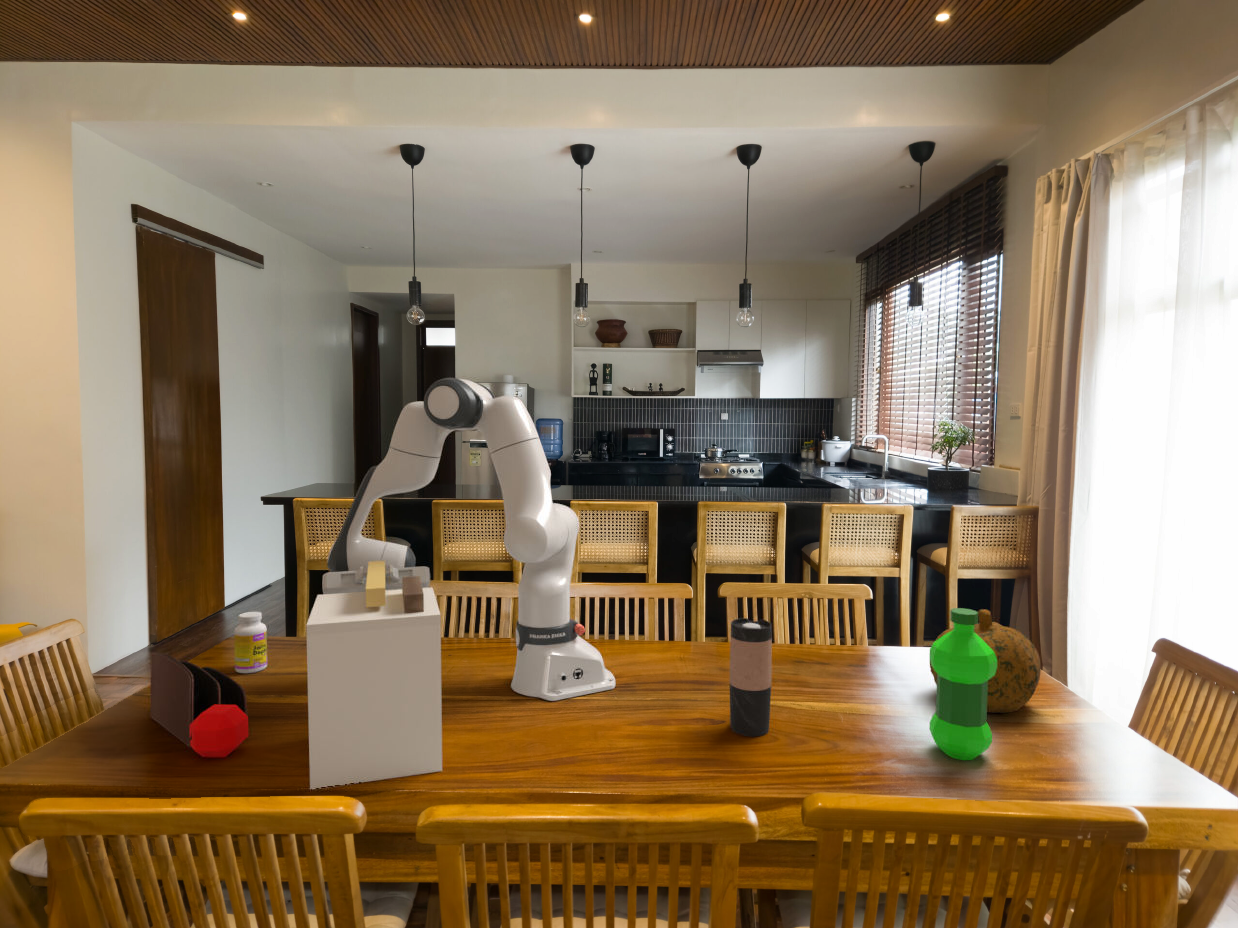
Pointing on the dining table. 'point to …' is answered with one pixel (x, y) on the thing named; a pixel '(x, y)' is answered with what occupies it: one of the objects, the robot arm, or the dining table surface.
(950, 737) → the plastic bottle
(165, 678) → the letter holder
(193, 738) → the ball
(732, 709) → the travel mug
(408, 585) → the walnut bar
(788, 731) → the dining table surface
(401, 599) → the off-white stand
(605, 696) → the dining table surface
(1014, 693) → the decorative pumpkin
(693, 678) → the dining table surface
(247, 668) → the supplement bottle
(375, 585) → the ochre bar
